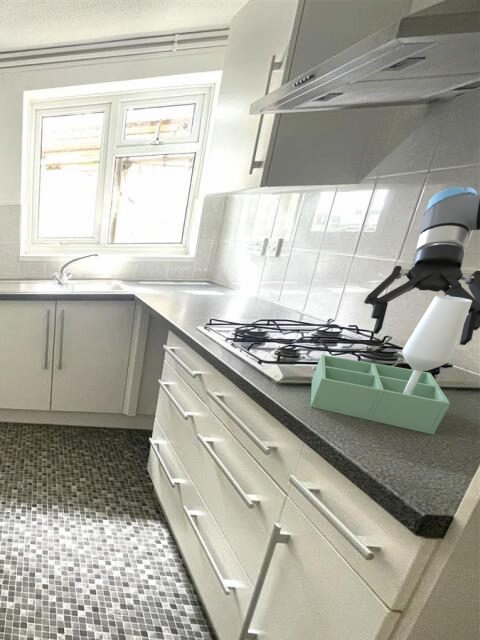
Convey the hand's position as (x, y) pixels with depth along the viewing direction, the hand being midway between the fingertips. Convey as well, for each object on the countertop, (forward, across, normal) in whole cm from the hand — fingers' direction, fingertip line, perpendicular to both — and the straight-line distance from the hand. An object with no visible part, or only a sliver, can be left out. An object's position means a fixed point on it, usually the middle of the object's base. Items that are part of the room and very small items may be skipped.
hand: (419, 336), depth 90 cm
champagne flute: (+19, +1, 0) cm, 19 cm away
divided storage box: (+16, +5, -4) cm, 17 cm away
